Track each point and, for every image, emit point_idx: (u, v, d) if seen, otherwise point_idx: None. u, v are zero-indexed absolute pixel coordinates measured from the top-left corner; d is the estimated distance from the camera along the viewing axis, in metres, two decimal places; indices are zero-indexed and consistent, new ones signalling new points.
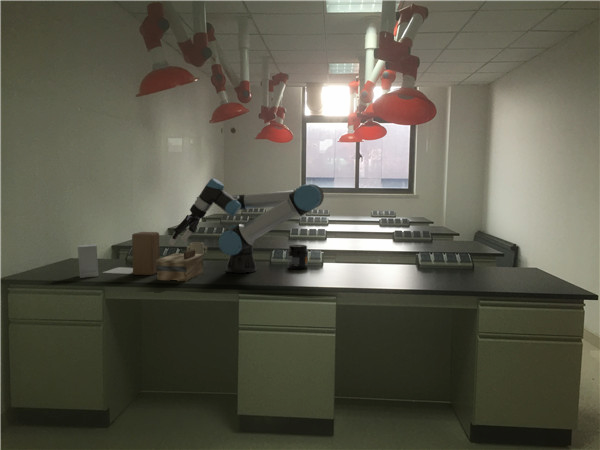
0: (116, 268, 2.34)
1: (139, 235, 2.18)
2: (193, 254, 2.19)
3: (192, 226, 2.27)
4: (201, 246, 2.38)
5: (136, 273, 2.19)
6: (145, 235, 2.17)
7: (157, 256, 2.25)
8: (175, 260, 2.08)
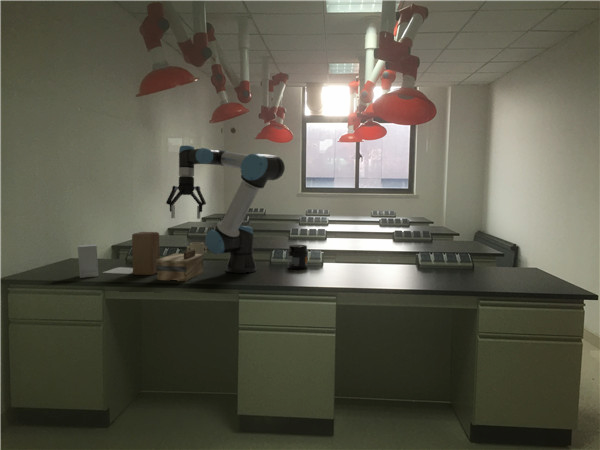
0: (116, 268, 2.34)
1: (139, 235, 2.18)
2: (193, 254, 2.19)
3: None
4: (201, 246, 2.38)
5: (136, 273, 2.19)
6: (145, 235, 2.17)
7: (157, 256, 2.25)
8: (175, 260, 2.08)
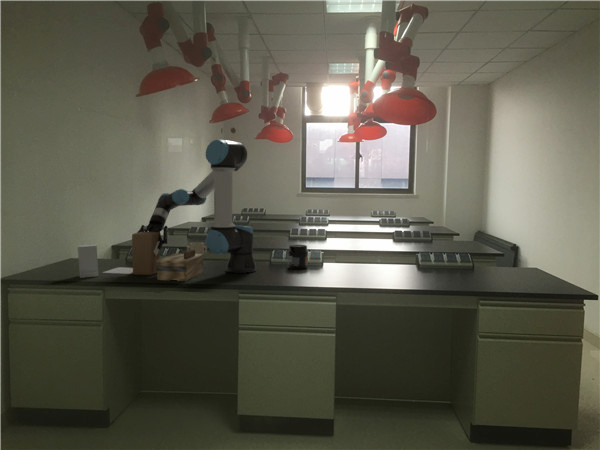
0: (116, 268, 2.34)
1: (139, 235, 2.18)
2: (193, 254, 2.19)
3: None
4: (201, 246, 2.38)
5: (136, 273, 2.19)
6: (145, 235, 2.17)
7: (157, 256, 2.25)
8: (175, 260, 2.08)
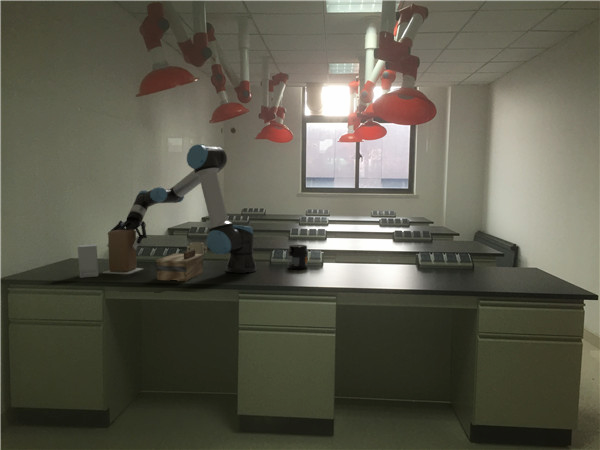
0: None
1: (115, 233, 2.23)
2: (193, 254, 2.19)
3: None
4: (201, 246, 2.38)
5: (112, 270, 2.25)
6: (120, 233, 2.23)
7: (133, 253, 2.30)
8: (175, 260, 2.08)
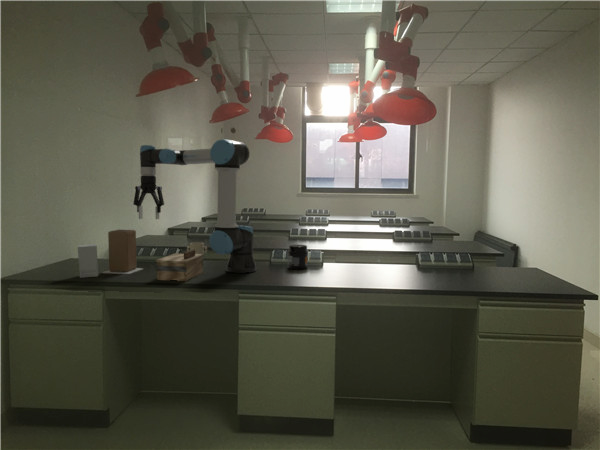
0: None
1: (115, 233, 2.23)
2: (193, 254, 2.19)
3: None
4: (201, 246, 2.38)
5: (112, 270, 2.25)
6: (120, 233, 2.23)
7: (133, 253, 2.30)
8: (175, 260, 2.08)
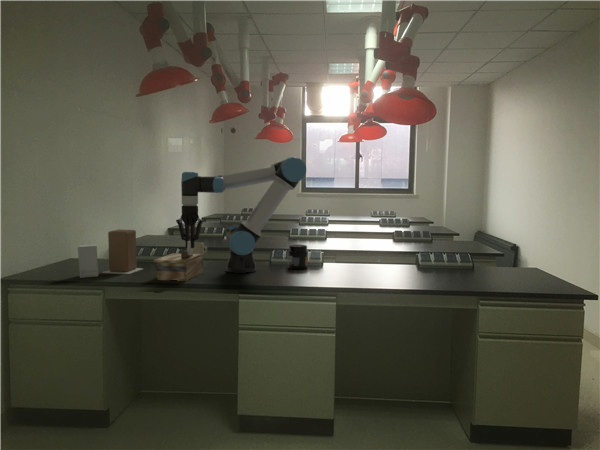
0: None
1: (115, 233, 2.23)
2: None
3: None
4: (201, 246, 2.38)
5: (112, 270, 2.25)
6: (120, 233, 2.23)
7: (133, 253, 2.30)
8: (172, 260, 2.08)
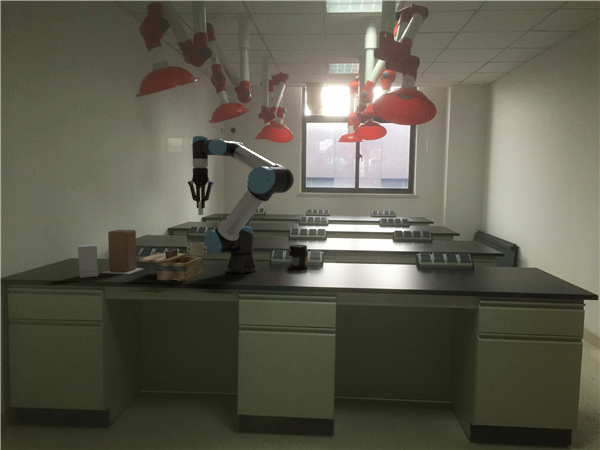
0: None
1: (115, 233, 2.23)
2: (175, 253, 2.21)
3: None
4: (201, 246, 2.38)
5: (112, 270, 2.25)
6: (120, 233, 2.23)
7: (133, 253, 2.30)
8: (156, 259, 2.09)
